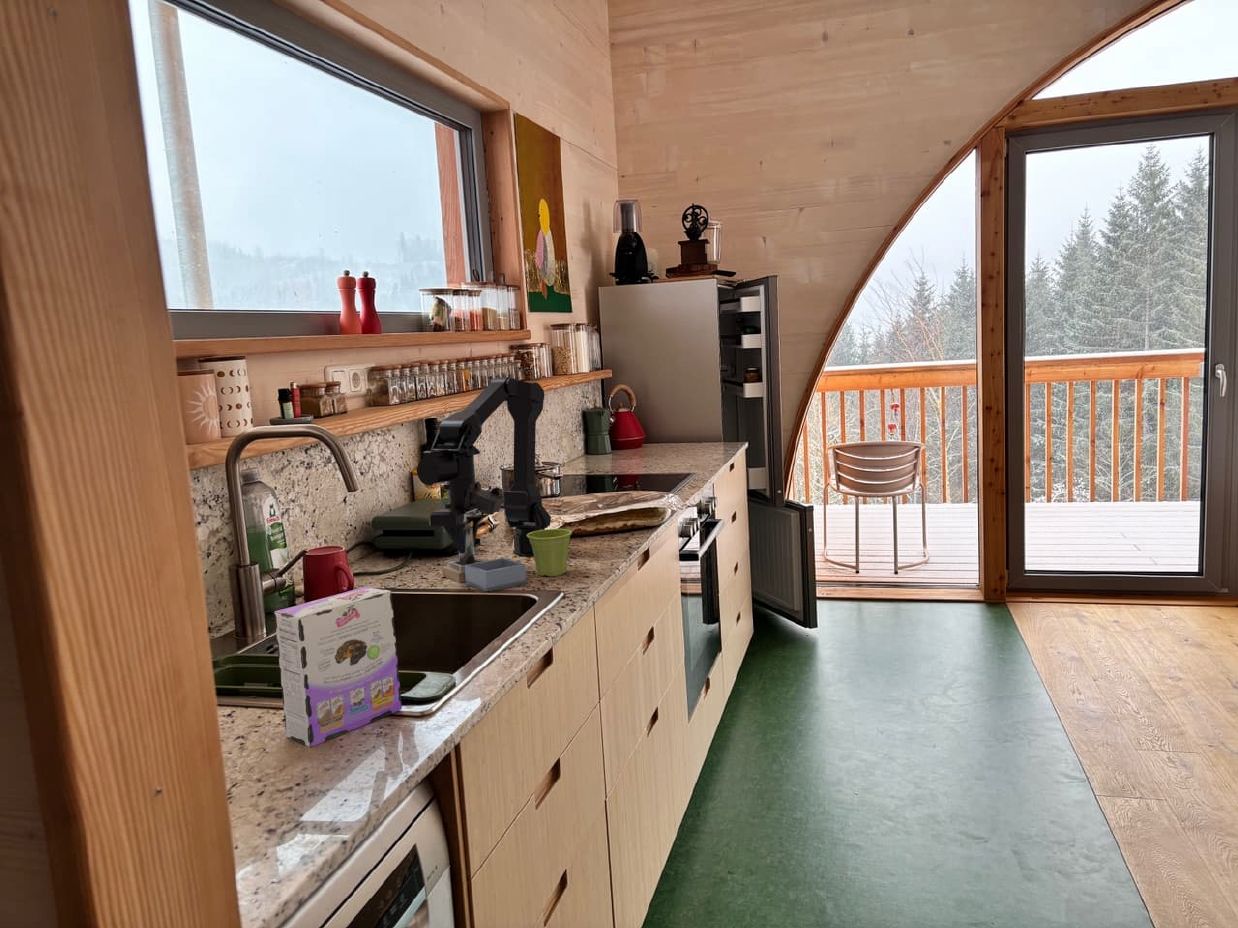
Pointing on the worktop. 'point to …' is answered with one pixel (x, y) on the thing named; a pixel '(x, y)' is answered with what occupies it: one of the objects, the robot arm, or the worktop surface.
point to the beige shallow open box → (456, 571)
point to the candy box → (337, 664)
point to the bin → (495, 574)
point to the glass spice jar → (468, 547)
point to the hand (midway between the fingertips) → (466, 551)
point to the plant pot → (550, 550)
